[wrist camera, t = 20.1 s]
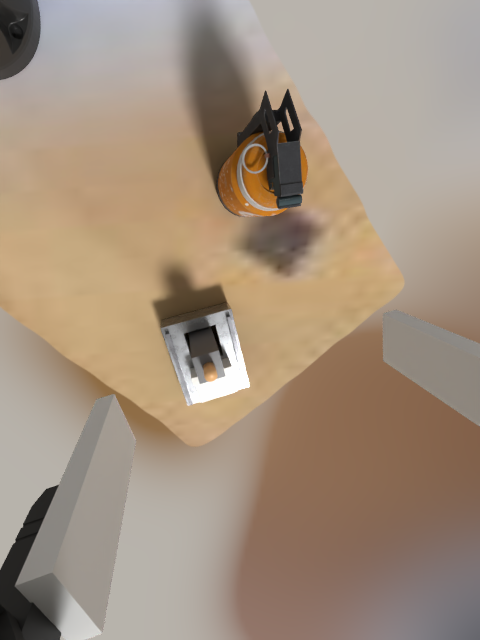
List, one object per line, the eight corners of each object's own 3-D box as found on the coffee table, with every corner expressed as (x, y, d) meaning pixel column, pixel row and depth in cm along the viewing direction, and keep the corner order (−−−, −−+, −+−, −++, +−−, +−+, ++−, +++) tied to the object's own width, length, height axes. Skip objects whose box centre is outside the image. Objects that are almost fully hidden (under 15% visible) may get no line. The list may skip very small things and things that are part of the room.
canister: (221, 220, 45) (252, 221, 27) (208, 142, 41) (235, 81, 23) (272, 212, 47) (336, 208, 28) (266, 136, 43) (334, 73, 24)
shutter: (190, 368, 49) (191, 378, 46) (228, 357, 50) (231, 366, 46) (200, 400, 51) (202, 411, 48) (236, 388, 52) (240, 399, 49)
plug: (188, 327, 50) (192, 366, 37) (209, 322, 51) (221, 358, 38) (194, 349, 52) (201, 393, 39) (215, 343, 52) (228, 385, 39)
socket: (161, 320, 49) (160, 330, 44) (227, 302, 50) (232, 310, 46) (186, 393, 55) (187, 408, 50) (244, 375, 56) (250, 388, 52)
